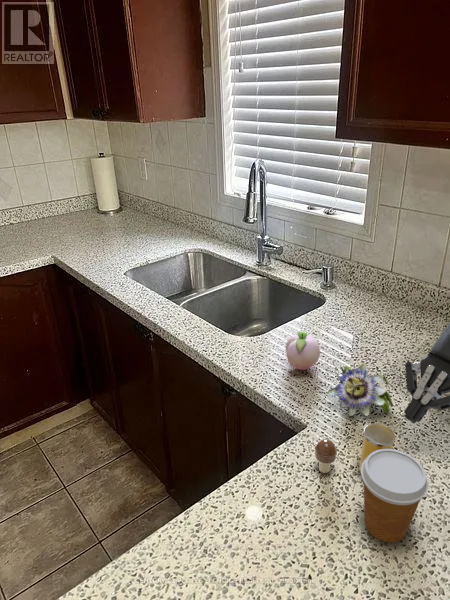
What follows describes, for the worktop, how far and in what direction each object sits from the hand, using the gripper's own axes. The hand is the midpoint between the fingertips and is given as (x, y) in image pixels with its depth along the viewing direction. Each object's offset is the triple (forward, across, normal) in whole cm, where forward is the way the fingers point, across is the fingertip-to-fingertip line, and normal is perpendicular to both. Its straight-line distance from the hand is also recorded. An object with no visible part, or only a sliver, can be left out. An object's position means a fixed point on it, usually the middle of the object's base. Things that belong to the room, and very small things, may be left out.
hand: (409, 420), depth 82 cm
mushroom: (+16, +5, +5) cm, 18 cm away
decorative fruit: (+4, +32, -8) cm, 33 cm away
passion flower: (+3, +14, -8) cm, 17 cm away
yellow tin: (+11, 0, 0) cm, 11 cm away
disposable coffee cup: (+16, -9, +5) cm, 19 cm away
